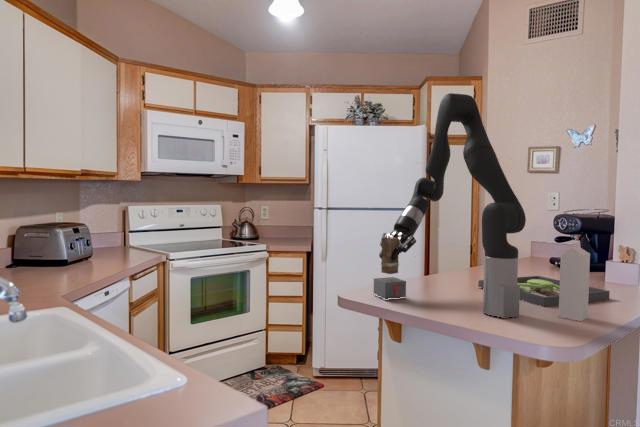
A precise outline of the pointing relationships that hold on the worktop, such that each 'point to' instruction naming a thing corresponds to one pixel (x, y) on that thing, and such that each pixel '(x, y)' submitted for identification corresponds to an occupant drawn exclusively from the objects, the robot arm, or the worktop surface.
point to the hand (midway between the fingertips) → (386, 258)
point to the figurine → (538, 285)
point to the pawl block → (390, 287)
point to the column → (387, 250)
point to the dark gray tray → (594, 295)
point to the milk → (574, 283)
